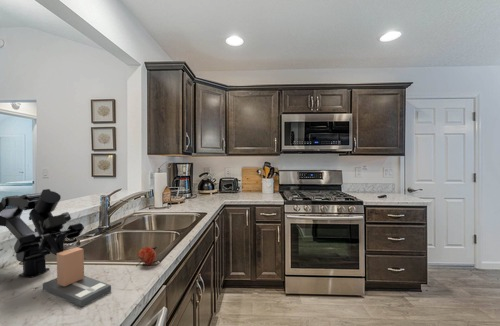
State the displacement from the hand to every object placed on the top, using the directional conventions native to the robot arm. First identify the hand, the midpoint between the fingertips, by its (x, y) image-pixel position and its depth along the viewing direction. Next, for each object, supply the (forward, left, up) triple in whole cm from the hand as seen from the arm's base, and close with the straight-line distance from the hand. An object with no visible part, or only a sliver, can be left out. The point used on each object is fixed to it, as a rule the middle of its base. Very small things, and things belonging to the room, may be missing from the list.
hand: (61, 256), depth 81 cm
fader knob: (+5, -1, -7) cm, 9 cm away
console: (+8, -2, -10) cm, 13 cm away
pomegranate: (+19, +19, -10) cm, 29 cm away
